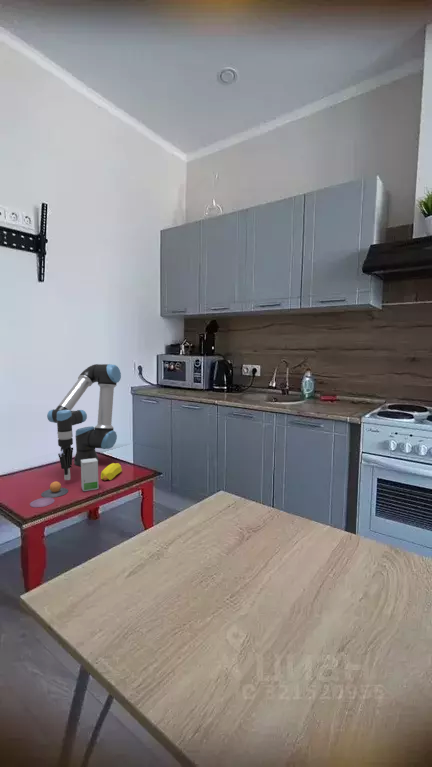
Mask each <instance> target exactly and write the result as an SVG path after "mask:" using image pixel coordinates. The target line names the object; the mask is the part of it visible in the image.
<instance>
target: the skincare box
mask: <svg viewBox="0 0 432 767" xmlns="http://www.w3.org/2000/svg"><path fill="white" fill-rule="evenodd" d="M98 460H99V459H98ZM98 460H97V459H96V458H92V459H83V460H81V466H80V483H81V489H82V492H87V491H88V492H89V491H95V490H99V461H98Z"/></svg>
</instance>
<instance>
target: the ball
mask: <svg viewBox="0 0 432 767" xmlns="http://www.w3.org/2000/svg"><path fill="white" fill-rule="evenodd" d="M61 488H62V484H61V482H60V481H56V480H55V481H53V482H51V483H50V485H49V489H50V490H51V491H52V492H58V491H59V490H60V489H61Z"/></svg>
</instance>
